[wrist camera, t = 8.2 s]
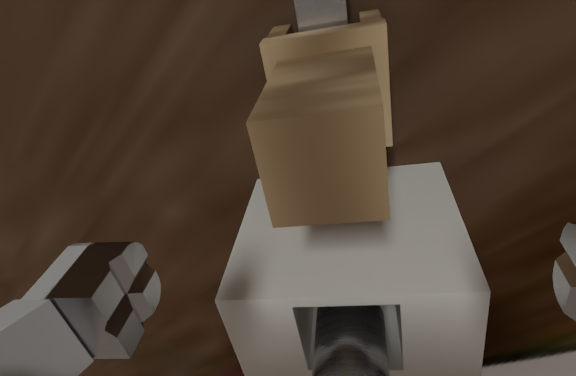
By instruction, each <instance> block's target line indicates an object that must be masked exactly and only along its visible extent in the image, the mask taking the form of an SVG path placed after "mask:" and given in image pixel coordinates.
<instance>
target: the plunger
mask: <svg viewBox="0 0 576 376" xmlns="http://www.w3.org/2000/svg"><path fill="white" fill-rule="evenodd" d="M312 376H390V374H389V364H388V353H387V343H386V332H385V322H384V313H383V310H382V308H381V306H380V305H362V306H327V307H318V309H317V317H316V330H315V343H314V356H313V369H312Z"/></svg>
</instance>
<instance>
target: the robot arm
mask: <svg viewBox="0 0 576 376" xmlns="http://www.w3.org/2000/svg"><path fill="white" fill-rule="evenodd" d="M560 242H561V243H562V245H563V247H564V248H565V250H566V252H564V253H563V254H562V255H561V256H559V257H558V258H557V259H556V260H555V264H554V269H553V285H554V291H555V294H556V297H557V301H558V303H559V305H560V307H561V309H562V311H563V313H565V314H566V315H568V316H569V317H570V318H572V319H573V320H575V321H576V222H572V223H567V224H566V226H565V227H564V229H563V231H562V235H561V238H560ZM147 257H148V254H147V252H146V251H145V249H144V247H143V245H142V244H140V243H137V242H95V243H75V244H73V245H70V246H68V247H67V248H66V249H65V250H64V251H63V253H62V254H61V255H60V256H59V257H58V258H57V259H56V260H55V262H54V263H53V264H52V265H51V266H50V267H49V268H48V269H47V271H46V272H45V273H44V274H43V275H42V276H41V277H40V278H39V280H38V281H37V282H36V283H35V284H34V285H33V286H32V288H31V289H30V290H29V291H28V292H27V293H26V294H25V295H24V297H23V298H22V299H21V300H13V301H12V302H10V303H8V304H7V305H5V306H3V307H2V308H0V376H78V375H79V374H80V373H81V372H82V371H84V370H85V369H86V368H87V367H88V366H89V365H90V364H91V363H92V362H93V361H94V360H93V359H130V358H131V356H132V354H133V352H134V350H135V348H136V346H137V344H138V343H139V341H140V339H141V337H142V335H143V333H144V331H145V330H144V325H143V321H144V320H146V319H147V318H148V317H149V316H151V315H152V314H153V313H154V311H155V309H156V307H157V305H158V303H159V299H160V292H161V285H160V280H159V277H158V275H157V273H156V270H154V269H153V268H152V267H150V266H149V265H148V264H146V260H147ZM575 336H576V333H575Z"/></svg>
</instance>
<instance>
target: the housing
mask: <svg viewBox="0 0 576 376" xmlns="http://www.w3.org/2000/svg"><path fill="white" fill-rule="evenodd" d="M387 174H388V191H389V207H390V220H382V221H367V222H353V223H338V224H324V225H309V226H295V227H280V228H273V227H272V223H271V219H270V215H269V211H268V207H267V203H266V199H265V195H264V191H263V187H262V184H261V180H260V179H257V181H256V184H255V187H254V190H253V193H252V196H251V198H250V201H249V204H248V207H247V210H246V213H245V216H244V218H243V221H242V224H241V227H240V230H239V233H238V236H237V238H236V241H235V244H234V247H233V250H232V253H231V255H230V258H229V261H228V264H227V267H226V270H225V273H224V275H223V278H222V281H221V284H220V287H219V290H218V293H217V295H216V298H215V303H216V306H217V308H218V311H219V313H220V316H221V318H222V321H223V323H224V326H225V328H226V331H227V333H228V336H229V338H230V341H231V343H232V345H233V348H234V350H235V353H236V355H237V358H238V360H239V363H240V365H241V368H242V370H243V373H244V375H245V376H312V369H313V356H314V343H315V330H316V317H317V309H318V307H327V306H362V305H380V306H381V308H382V310H383V313H384V322H385V332H386V343H387V353H388V364H389V374H390V376H481V370H482V362H483V353H484V345H485V336H486V328H487V319H488V311H489V302H490V294H491V291H490V289H489V286H488V284H487V281H486V278H485V276H484V273H483V271H482V268H481V266H480V263H479V261H478V258H477V256H476V253H475V250H474V248H473V245H472V243H471V240H470V238H469V235H468V233H467V230H466V227H465V225H464V222H463V220H462V217H461V215H460V212H459V210H458V207H457V205H456V202H455V199H454V197H453V194H452V192H451V189H450V187H449V184H448V182H447V179H446V176H445V174H444V171H443V169H442V166H441V164H440V162H434V163H424V164H413V165H402V166H392V167H387Z"/></svg>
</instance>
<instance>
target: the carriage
mask: <svg viewBox="0 0 576 376" xmlns="http://www.w3.org/2000/svg"><path fill="white" fill-rule="evenodd" d="M359 15H360V22H358V23H352V24H346V25H340V26H334V27H328V28H322V29H316V30H310V31H304V32H298V33H293V32H292V26H291V24H288V25H282V26H276V27H273V29H272V30H271V32H270V33H269V34H268V36H267V37H266V38H263V40H262V41H261V43H260V44H259V46H260V51H261V55H262V60H263V65H264V69H265V74H266V79H267V83H266V84H265V86H264V88H263V90H262V92H261V94H260V96H259V98H258V100H257V102H256V104H255V106H254V108H253V110H252V112H251V114H250V116H249V118H248V120H247V122H246V125H247V129H248V133H249V137H250V141H251V144H252V148H253V152H254V156H255V160H256V164H257V168H258V172H259V176H260V180H261V184H262V187H263V191H264V195H265V199H266V203H267V207H268V211H269V215H270V219H271V223H272V227H273V228H280V227H295V226H309V225H324V224H338V223H353V222H367V221H382V220H390V207H389V191H388V174H387V157H386V147H389V146H393V141H392V121H391V101H390V81H389V61H388V41H387V23H386V21H385V18H381V15H380V12H379V10H378V9H375V10H369V11H363V12H359Z"/></svg>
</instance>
